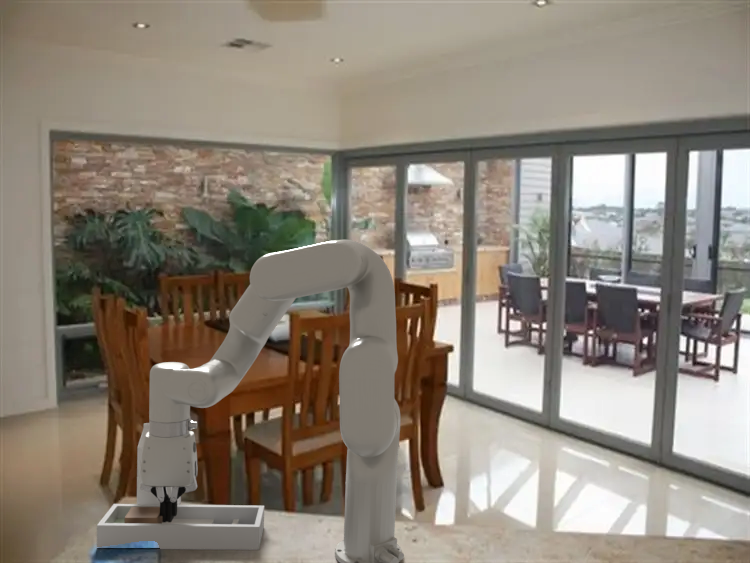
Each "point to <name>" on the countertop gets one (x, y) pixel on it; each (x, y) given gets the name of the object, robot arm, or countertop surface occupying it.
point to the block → (144, 515)
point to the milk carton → (142, 496)
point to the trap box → (188, 527)
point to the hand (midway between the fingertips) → (168, 519)
